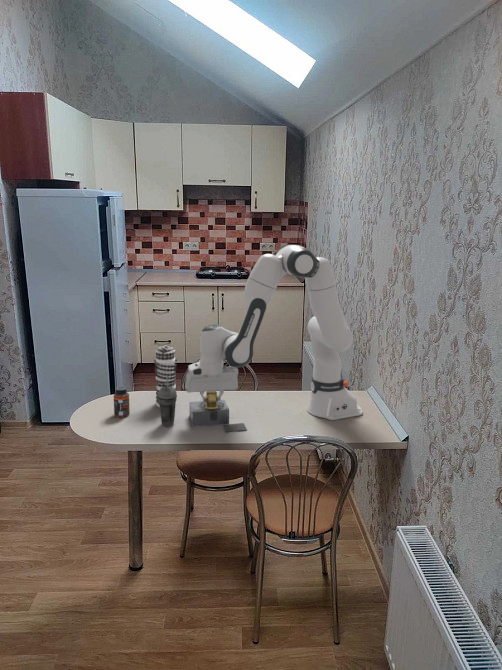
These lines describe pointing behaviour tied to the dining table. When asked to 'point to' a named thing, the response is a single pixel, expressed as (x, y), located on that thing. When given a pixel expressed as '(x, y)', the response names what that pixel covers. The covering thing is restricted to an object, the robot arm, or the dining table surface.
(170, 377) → the checkered thermos bottle
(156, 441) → the dining table surface
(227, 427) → the mat
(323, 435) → the dining table surface
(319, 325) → the robot arm
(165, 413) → the beverage cup
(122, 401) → the supplement bottle
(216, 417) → the housing
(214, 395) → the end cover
